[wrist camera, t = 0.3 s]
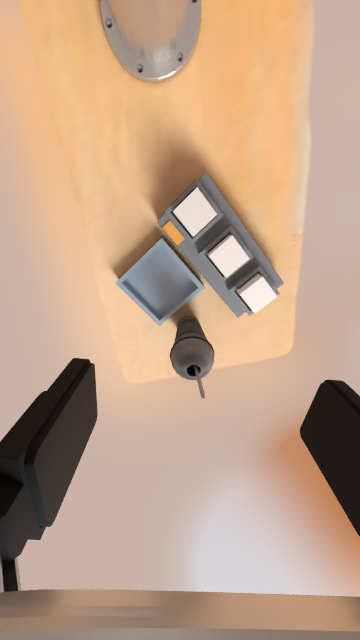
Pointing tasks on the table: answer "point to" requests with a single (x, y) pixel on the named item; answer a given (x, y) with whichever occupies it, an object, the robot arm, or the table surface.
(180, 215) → the block
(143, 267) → the tray
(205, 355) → the beverage cup
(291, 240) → the table surface
